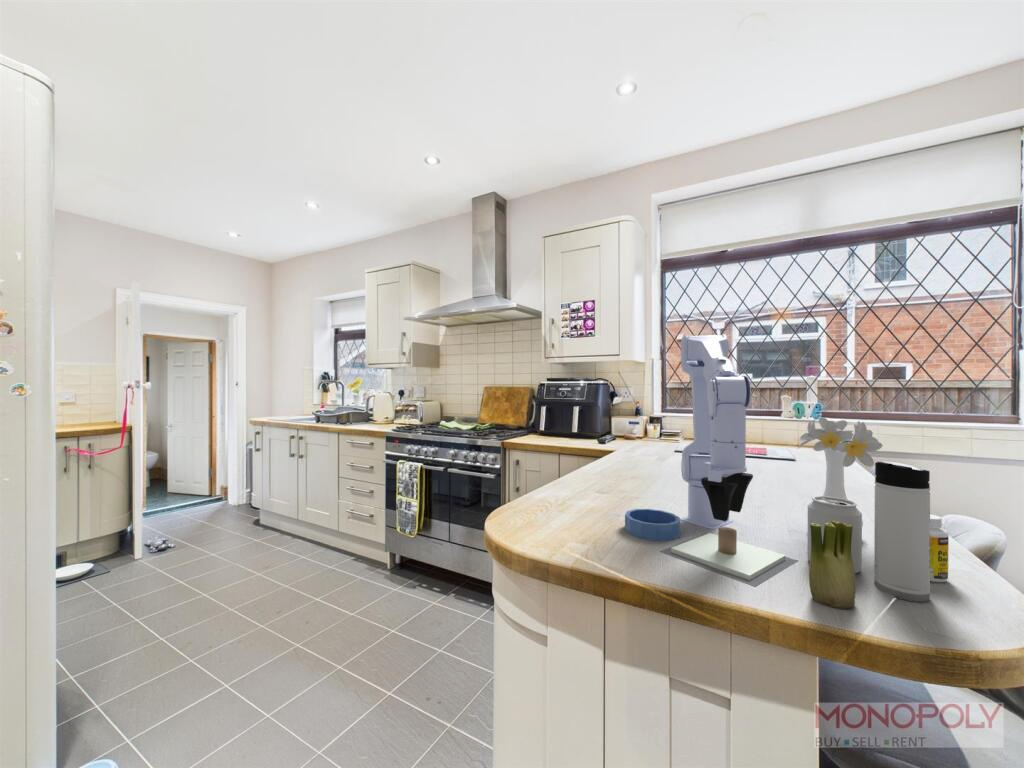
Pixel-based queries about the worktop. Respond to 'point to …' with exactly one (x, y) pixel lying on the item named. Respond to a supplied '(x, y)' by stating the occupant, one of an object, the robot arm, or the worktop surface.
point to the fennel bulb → (832, 565)
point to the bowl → (652, 524)
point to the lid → (729, 554)
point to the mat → (752, 582)
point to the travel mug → (902, 531)
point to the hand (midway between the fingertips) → (727, 515)
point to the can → (839, 511)
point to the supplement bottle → (938, 550)
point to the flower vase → (841, 450)
